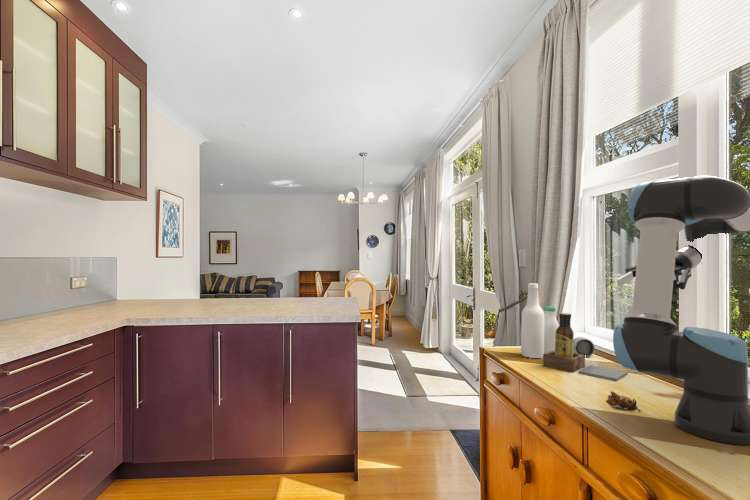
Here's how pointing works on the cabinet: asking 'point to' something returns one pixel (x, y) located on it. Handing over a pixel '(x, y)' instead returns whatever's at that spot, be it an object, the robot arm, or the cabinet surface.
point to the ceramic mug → (583, 346)
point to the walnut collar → (564, 361)
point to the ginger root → (621, 401)
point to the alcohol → (532, 325)
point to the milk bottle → (549, 329)
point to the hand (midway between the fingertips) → (636, 287)
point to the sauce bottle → (564, 337)
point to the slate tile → (603, 372)
